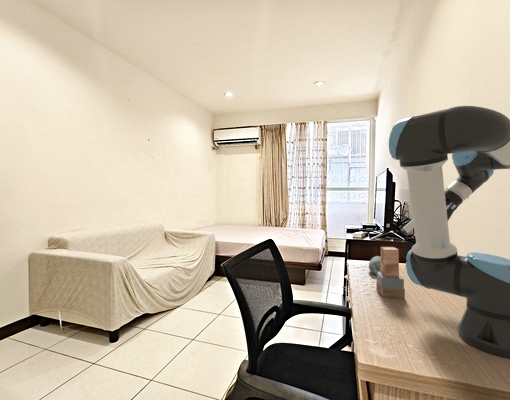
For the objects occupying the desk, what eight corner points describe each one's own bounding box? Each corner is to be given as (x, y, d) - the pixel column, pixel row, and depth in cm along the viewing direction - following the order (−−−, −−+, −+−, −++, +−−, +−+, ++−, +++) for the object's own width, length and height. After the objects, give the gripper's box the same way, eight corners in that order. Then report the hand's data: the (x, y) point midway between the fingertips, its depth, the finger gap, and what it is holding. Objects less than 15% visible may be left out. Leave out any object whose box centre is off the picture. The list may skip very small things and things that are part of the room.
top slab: (403, 289, 100) (403, 279, 100) (381, 287, 102) (381, 277, 102) (397, 282, 108) (397, 273, 108) (376, 281, 110) (377, 271, 109)
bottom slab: (404, 299, 100) (404, 289, 100) (382, 298, 101) (383, 288, 101) (396, 291, 108) (396, 282, 108) (376, 290, 109) (376, 281, 109)
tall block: (399, 277, 102) (398, 249, 102) (385, 277, 102) (385, 249, 102) (393, 273, 107) (393, 246, 107) (381, 273, 107) (380, 246, 107)
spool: (390, 272, 124) (380, 252, 128) (371, 278, 128) (362, 258, 132) (394, 272, 134) (385, 253, 139) (376, 277, 138) (368, 259, 143)
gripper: (485, 203, 89) (437, 245, 91) (442, 201, 114) (405, 234, 116) (468, 188, 89) (421, 230, 92) (429, 189, 114) (393, 222, 116)
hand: (412, 233), depth 104 cm, fingers open, 13 cm apart
